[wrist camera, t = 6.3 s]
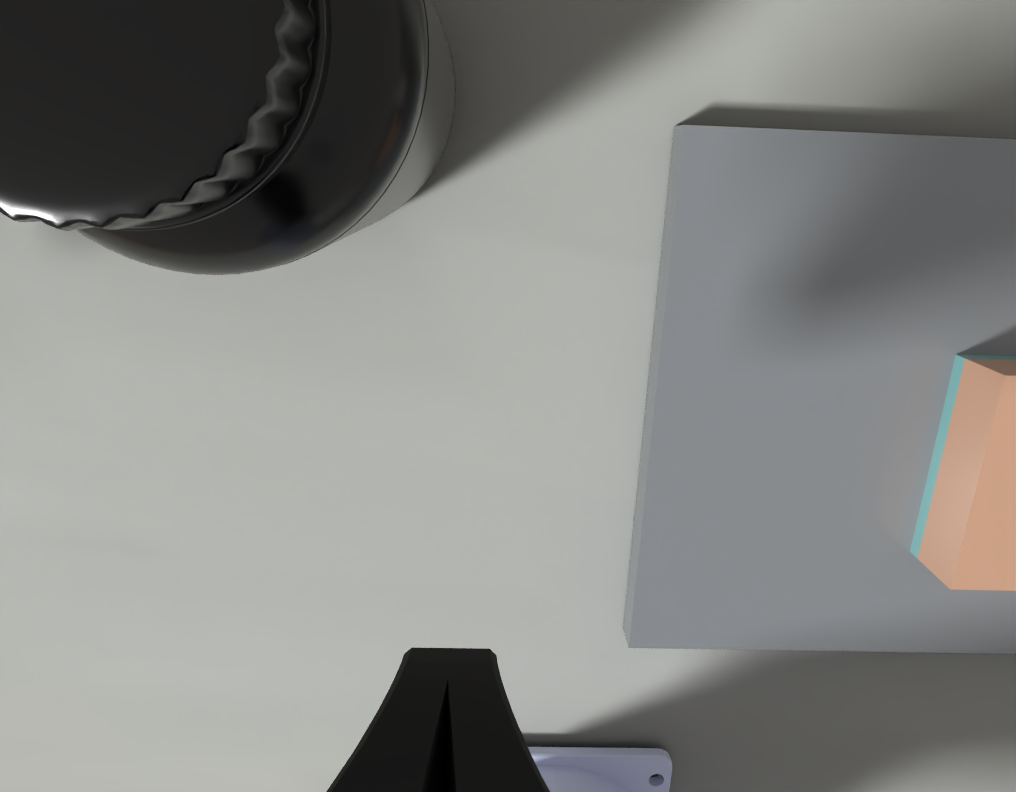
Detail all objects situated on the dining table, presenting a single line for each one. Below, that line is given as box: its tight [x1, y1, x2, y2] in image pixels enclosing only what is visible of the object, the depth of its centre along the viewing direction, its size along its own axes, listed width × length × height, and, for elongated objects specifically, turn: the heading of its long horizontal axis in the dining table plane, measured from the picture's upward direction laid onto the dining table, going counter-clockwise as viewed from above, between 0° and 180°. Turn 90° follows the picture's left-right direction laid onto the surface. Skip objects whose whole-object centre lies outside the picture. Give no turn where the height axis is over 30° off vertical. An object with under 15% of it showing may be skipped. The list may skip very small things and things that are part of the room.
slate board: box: [623, 125, 1016, 654], centre depth 21 cm, size 15×18×1 cm
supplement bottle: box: [0, 0, 455, 275], centre depth 13 cm, size 7×7×12 cm
